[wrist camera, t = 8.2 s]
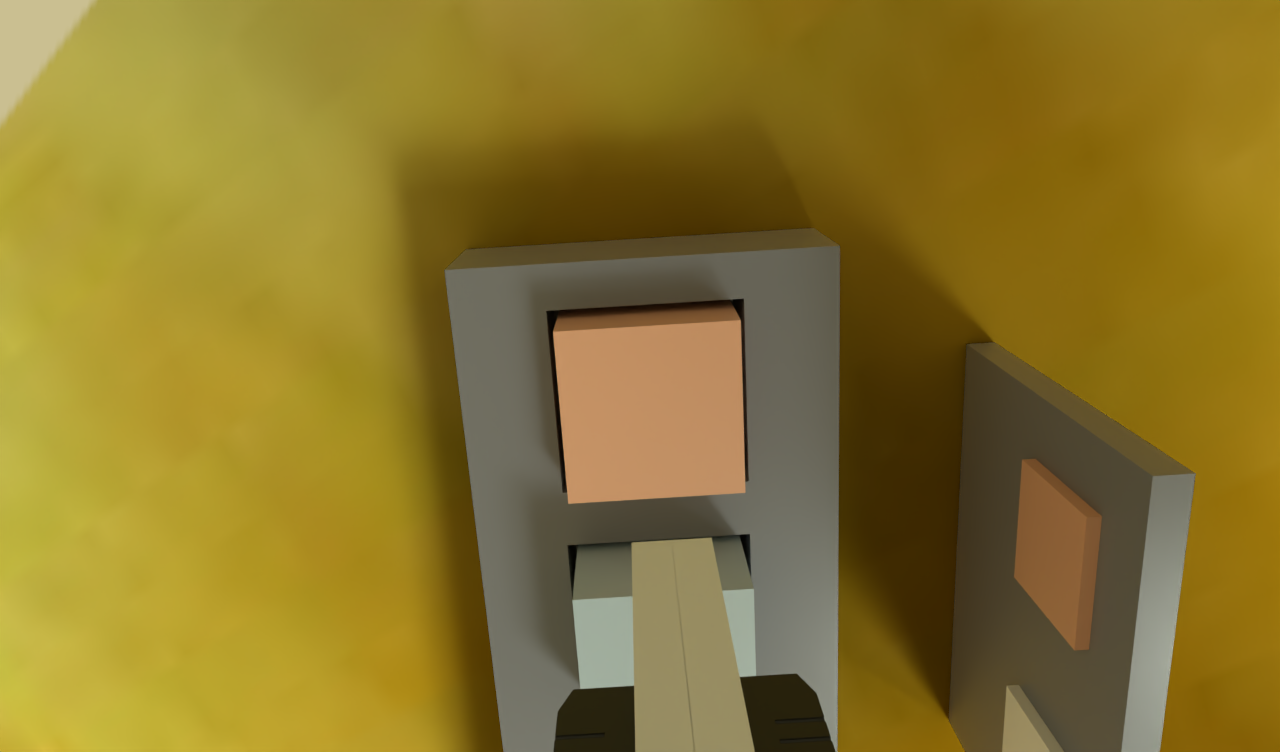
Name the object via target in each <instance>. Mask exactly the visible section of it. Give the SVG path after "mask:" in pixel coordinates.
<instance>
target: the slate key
mask: <svg viewBox="0 0 1280 752" xmlns="http://www.w3.org/2000/svg"><path fill="white" fill-rule="evenodd" d="M698 538H712V542H713V547H714V552H715V557H716V562H717V567H718V572H719V577H720V582H721V587H722V592H723V597H724V602H725V607H726V612H727V617H728V622H729V627H730V632H731V637H732V641H733V646H734V651H735V656H736V661H737V666H738V671H739V676H740V677H747V676H756V653H755V613H754V587H753V584H752V580H751V576H750V573H749V569H748V565H747V561H746V558H745V554H744V550H743V547H742V543H741V539H740V536H739V535H725V536H709V537H693V538H677V539H661V540H645V541H628V542H612V543H596V544H580V545H578V548H577V558H576V568H575V578H574V589H573V599H572V602H573V613H574V624H575V635H576V646H577V657H578V668H579V679H580V689H589V688H605V687H621V686H634V650H633V596H632V543H633V542H649V541H665V540H682V539H698Z"/></svg>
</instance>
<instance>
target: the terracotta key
mask: <svg viewBox="0 0 1280 752" xmlns="http://www.w3.org/2000/svg"><path fill="white" fill-rule="evenodd" d="M553 337H554V348H555V359H556V371H557V382H558V393H559V404H560V416H561V427H562V438H563V449H564V461H565V472H566V483H567V494H568V504H573V503H589V502H605V501H622V500H638V499H654V498H670V497H686V496H702V495H718V494H734V493H745V456H744V419H743V382H742V345H741V320H740V318H739V316H738V314H737V312H736V310H735V308H734V307H733V305H732V303H731V301H730V299H729V300H713V301H697V302H681V303H665V304H648V305H632V306H616V307H600V308H583V309H567V310H559V313H558V317H557V320H556V323H555V327H554V330H553Z"/></svg>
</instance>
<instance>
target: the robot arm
mask: <svg viewBox="0 0 1280 752" xmlns="http://www.w3.org/2000/svg"><path fill="white" fill-rule="evenodd" d="M632 596H633V650H634V686H621V687H605V688H589V689H573V690H572V692H571V693H570V695H569V696H568V697H567V699H566V700H565V702H564V703H563V705H562V706H561V707H560V709H559V710H558V714H557V723H556V732H555V741H554V751H553V752H836V751H835V748H834V745H833V742H832V741H831V736H830V733H829V730H828V727H827V724H826V721H825V720H824V714H823V711H822V708H821V705H820V702H819V699H818V696H817V693H816V692H815V691H814V690H813V689H812V688H811V687H810V686H809V685H808V684H807V683H806V682H805V681H804V680H803V679H802V678H801V677H800V676H799V675H798V674H797V673H796V674H779V675H763V676H747V677H740V676H739V671H738V666H737V661H736V656H735V651H734V646H733V641H732V637H731V632H730V627H729V622H728V617H727V612H726V607H725V602H724V597H723V592H722V587H721V582H720V577H719V572H718V567H717V562H716V557H715V552H714V547H713V542H712V538H698V539H682V540H665V541H649V542H633V543H632Z"/></svg>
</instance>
